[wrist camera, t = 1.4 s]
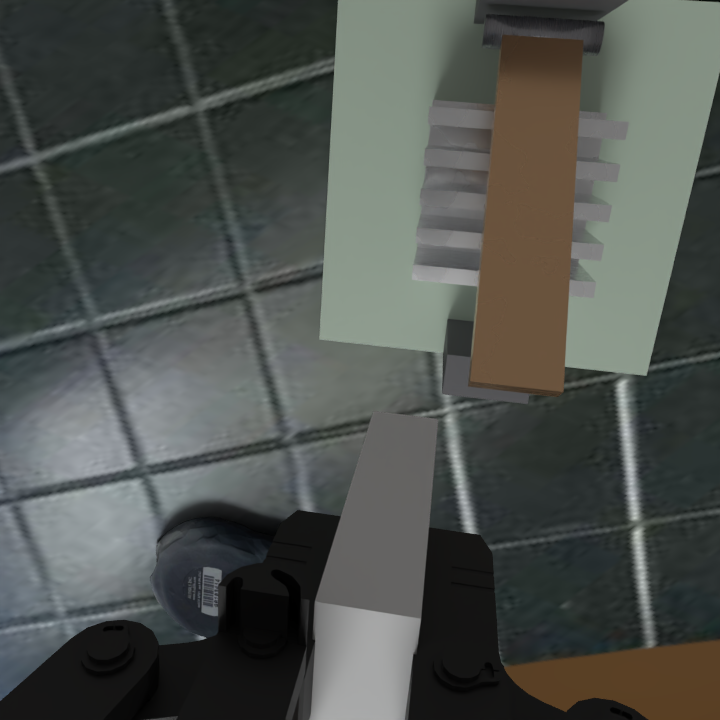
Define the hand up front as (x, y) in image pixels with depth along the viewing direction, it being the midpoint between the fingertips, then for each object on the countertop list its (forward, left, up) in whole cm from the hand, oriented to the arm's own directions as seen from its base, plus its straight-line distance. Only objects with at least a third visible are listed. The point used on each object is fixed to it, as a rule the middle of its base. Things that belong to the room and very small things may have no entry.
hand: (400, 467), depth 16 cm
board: (+3, +4, -23) cm, 23 cm away
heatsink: (+3, +5, -22) cm, 22 cm away
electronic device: (-9, -23, -23) cm, 34 cm away
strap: (+3, +5, -12) cm, 13 cm away
